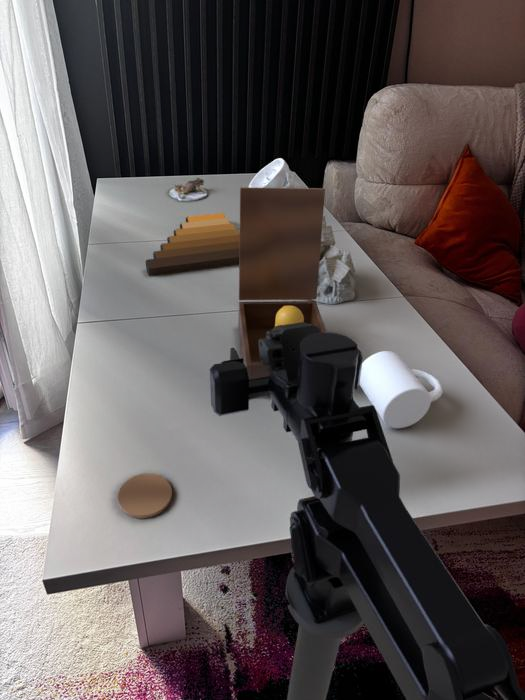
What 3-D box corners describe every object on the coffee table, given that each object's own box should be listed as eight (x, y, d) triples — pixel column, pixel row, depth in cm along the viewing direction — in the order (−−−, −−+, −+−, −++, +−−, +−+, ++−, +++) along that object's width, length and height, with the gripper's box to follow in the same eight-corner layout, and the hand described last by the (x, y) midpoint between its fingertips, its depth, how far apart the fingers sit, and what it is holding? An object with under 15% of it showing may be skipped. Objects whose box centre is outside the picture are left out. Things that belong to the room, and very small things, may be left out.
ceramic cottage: (265, 275, 124) (273, 213, 115) (330, 268, 130) (343, 209, 121) (292, 314, 113) (303, 248, 104) (362, 305, 119) (378, 242, 110)
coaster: (177, 510, 71) (177, 507, 71) (122, 524, 69) (122, 521, 69) (165, 471, 77) (165, 468, 76) (114, 483, 74) (114, 480, 74)
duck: (300, 377, 94) (307, 315, 87) (273, 378, 93) (278, 315, 86) (295, 356, 99) (301, 295, 92) (269, 356, 98) (273, 295, 91)
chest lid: (325, 189, 95) (320, 184, 99) (240, 188, 93) (238, 183, 97) (316, 299, 104) (312, 291, 108) (239, 300, 102) (237, 292, 106)
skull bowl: (310, 197, 163) (291, 162, 155) (269, 223, 165) (249, 190, 157) (300, 185, 171) (282, 151, 163) (262, 210, 173) (242, 177, 165)
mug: (379, 432, 85) (388, 392, 80) (353, 392, 93) (360, 353, 88) (447, 420, 88) (460, 381, 83) (416, 382, 96) (426, 344, 91)
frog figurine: (193, 184, 172) (193, 172, 169) (216, 195, 164) (215, 183, 162) (161, 191, 166) (160, 178, 163) (183, 203, 158) (182, 190, 156)
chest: (332, 393, 92) (337, 363, 88) (245, 395, 90) (246, 365, 87) (312, 328, 108) (316, 300, 104) (238, 329, 106) (238, 301, 103)
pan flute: (149, 277, 122) (255, 262, 130) (148, 263, 120) (255, 249, 128) (128, 232, 140) (222, 222, 148) (127, 219, 138) (222, 210, 146)
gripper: (395, 337, 59) (333, 281, 72) (228, 364, 54) (193, 299, 67) (382, 420, 65) (327, 354, 78) (229, 451, 60) (197, 376, 72)
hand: (265, 345), depth 74 cm, fingers open, 9 cm apart
